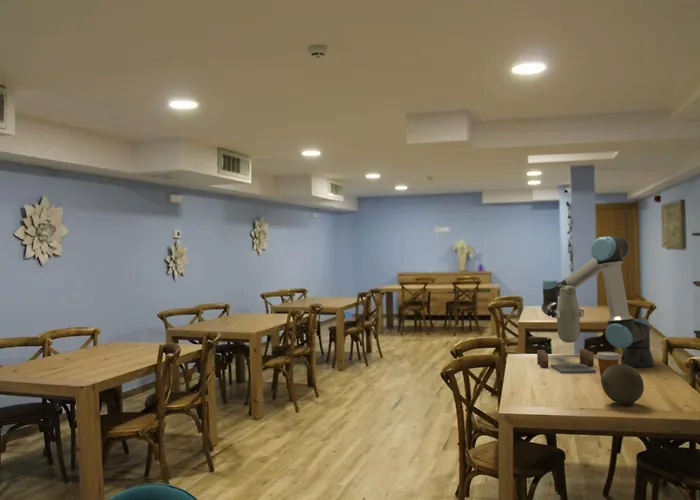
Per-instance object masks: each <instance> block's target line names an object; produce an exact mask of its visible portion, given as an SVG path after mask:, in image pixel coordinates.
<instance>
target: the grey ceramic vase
mask: <svg viewBox="0 0 700 500" xmlns="http://www.w3.org/2000/svg"><path fill="white" fill-rule="evenodd" d="M579 309H580V306H579V303H578V299H577V291H576V289H575V288H574V287H573V286H570V285H565V286H562V287H561V289H560V296H558V305H557V311H558V312H560V318H558V317H557V318H556V321H557V322H556V325H557V326H556V327H557V336H558V338H559V339H560V340H561V341H562V342H564V343H568V344H569V343H575V342H577V341H578V340H579V337H580V336H581V335H580V333H581V326H580V325H581V324H580V321H581V317H580V311H579Z"/></svg>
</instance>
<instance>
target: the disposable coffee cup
mask: <svg viewBox="0 0 700 500" xmlns="http://www.w3.org/2000/svg"><path fill="white" fill-rule="evenodd" d="M596 359H597V364H598V370H599V377H600V378H601V377H602V374H603V372H604V371H605V370H606V369H607V368H608V367H609V366H611V365H617V364H619V361H620V359H621V357H620V355H619V353H618V352H613V351H598V352H597V353H596Z"/></svg>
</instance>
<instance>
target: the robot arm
mask: <svg viewBox="0 0 700 500" xmlns="http://www.w3.org/2000/svg"><path fill="white" fill-rule="evenodd" d="M629 252H630V245H629V243H628V241H627V240H626V239H625V238H624V237H621V236H609V235H607V236H599V237H598V238H596V239H595V240H594V241H593V243H592V244H591V246H590V253H591V255H592V258H591V260H589V261H588V262H586V263H585V264H583V265H582V266H580V267H579V268H578V269H577V270H575V271H574V272H572V273H571V274H570V275H568V276H567V277H565V278H564V279H563V280H562V281H560V282H558V280H557V279H552V278H551V279H544V280H543V281H542V297H543V299H542V300H543V301H542V302H543V303H542V304H541V306H540V307H541V311H542V312H543V314H545V315H547V316H548V317H551V318H554V319H557V317H558V318H560V312H558V311H557V305H558V302H559V296H560V289H561V287H562V286H565V285H570V286H573V287H574V288H575V290H576V289H578V287H580V286H582V285H583V284H584V283H586V282H587V281H589V280H590V279H592V278H594V276H596V275H597V274H599V273H601V272H602V273H601V274H602V278H603V284H604V290H605V295H606V301H607V307H608V312H609V317H608V319H607V320H606V321H607V328H606V330H605V334H604V335H605V338H606V340H607V342H608V343H609V344H610V345H611V346H613V347H615V348H619V349H620V348H621V349H623V351H622V354H621V357H620V364H626V365H629V366H631V367H633V368H651V367H655V365H656V363H655V358H654V357H653V354H652V352H651V335H650V334H651V329H650V328H651V326H650V322H649V320H648V319H645V318H634V317H633V316H632V315H630V312H629V311H630V310H629V306H628V299H627V294H626V291H625V284H624V279H623V278H624V277H623V272H622V268H621V267H622V264H624V260H623V259H624V258H626V257H627V255H628V254H629ZM579 311H580V318H584V316H585V310H584V309H581V308H579Z"/></svg>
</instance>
